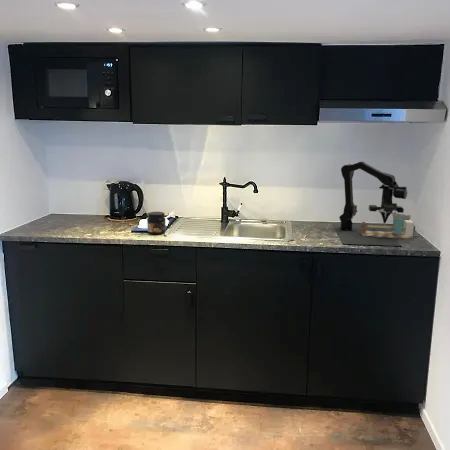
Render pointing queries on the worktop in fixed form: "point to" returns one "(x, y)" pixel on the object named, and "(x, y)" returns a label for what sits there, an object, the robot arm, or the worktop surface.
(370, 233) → the comb board
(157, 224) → the supplement container
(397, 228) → the sleeve
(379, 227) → the fibre cord
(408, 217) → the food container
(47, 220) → the worktop surface
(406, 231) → the connector block
